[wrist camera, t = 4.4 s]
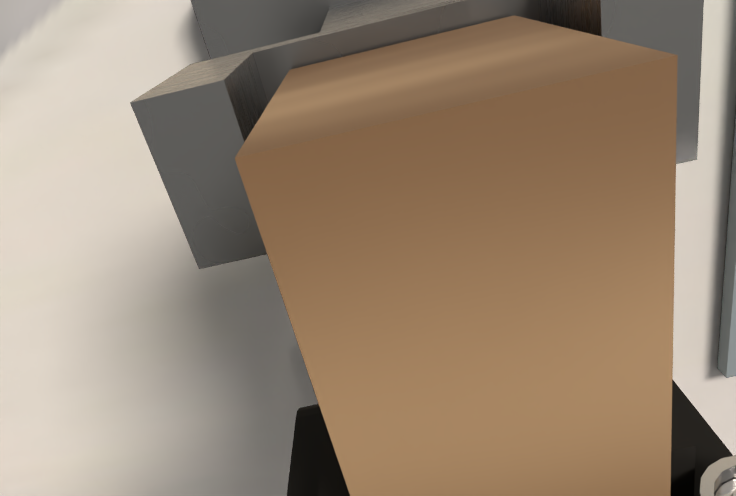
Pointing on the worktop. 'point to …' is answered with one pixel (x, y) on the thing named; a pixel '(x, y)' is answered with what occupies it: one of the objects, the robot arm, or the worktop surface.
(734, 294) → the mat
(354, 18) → the stand
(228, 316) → the worktop surface
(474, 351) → the tan wooden bar
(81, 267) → the worktop surface
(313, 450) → the robot arm
